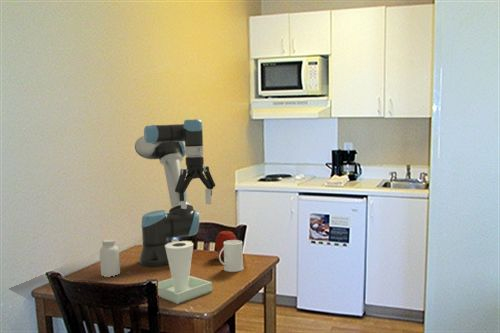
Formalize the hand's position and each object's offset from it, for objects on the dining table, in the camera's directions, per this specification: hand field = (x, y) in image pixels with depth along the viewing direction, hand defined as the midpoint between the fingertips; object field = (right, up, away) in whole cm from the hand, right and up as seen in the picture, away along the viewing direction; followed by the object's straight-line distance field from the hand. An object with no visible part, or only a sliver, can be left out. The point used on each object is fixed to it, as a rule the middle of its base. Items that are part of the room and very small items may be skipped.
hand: (196, 206), depth 215 cm
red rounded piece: (+12, -26, +24) cm, 38 cm away
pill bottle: (-37, -30, +3) cm, 48 cm away
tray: (-4, -31, -22) cm, 38 cm away
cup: (-4, -31, -22) cm, 38 cm away
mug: (+14, -28, +5) cm, 32 cm away
